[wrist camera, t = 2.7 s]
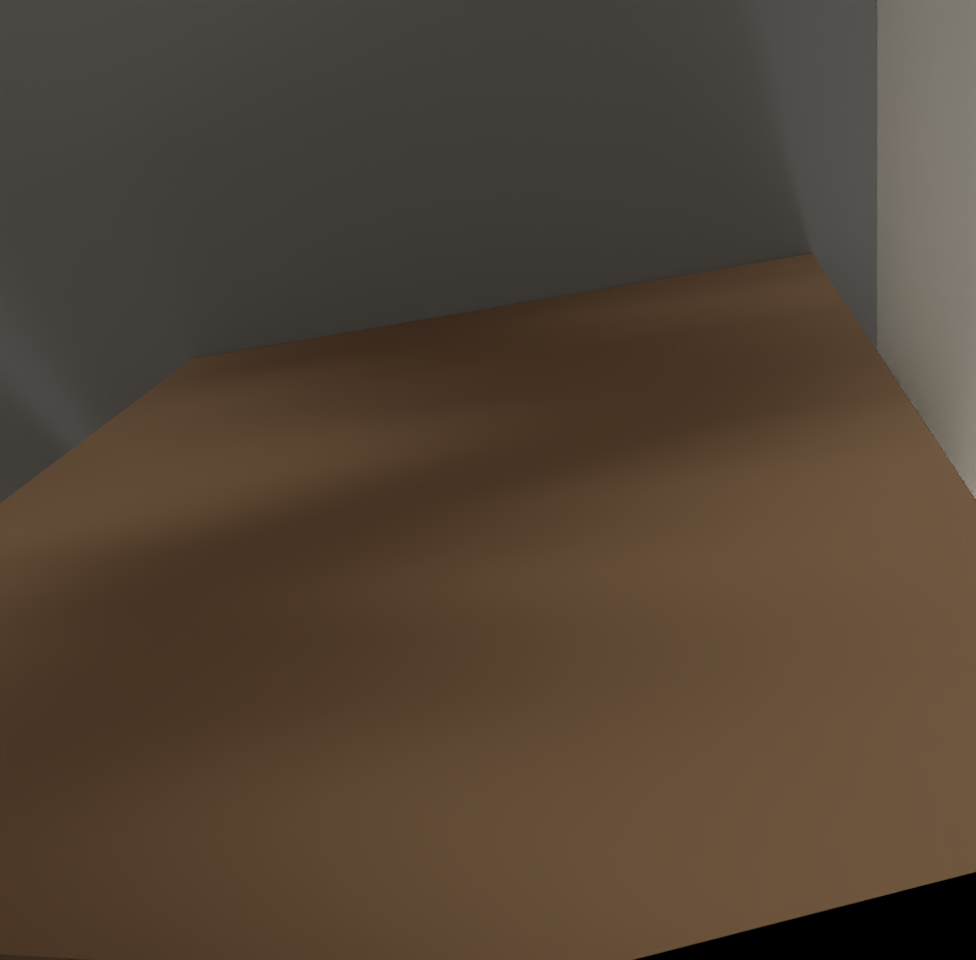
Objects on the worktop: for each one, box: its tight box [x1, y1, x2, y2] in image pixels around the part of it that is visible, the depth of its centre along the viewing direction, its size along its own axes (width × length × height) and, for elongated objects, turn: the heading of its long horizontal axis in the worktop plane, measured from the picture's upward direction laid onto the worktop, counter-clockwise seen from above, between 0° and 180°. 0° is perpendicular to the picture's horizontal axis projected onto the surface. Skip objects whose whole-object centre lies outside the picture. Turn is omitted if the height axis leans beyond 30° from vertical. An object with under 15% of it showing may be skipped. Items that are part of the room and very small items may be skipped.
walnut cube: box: [0, 253, 976, 960], centre depth 6 cm, size 6×6×6 cm
